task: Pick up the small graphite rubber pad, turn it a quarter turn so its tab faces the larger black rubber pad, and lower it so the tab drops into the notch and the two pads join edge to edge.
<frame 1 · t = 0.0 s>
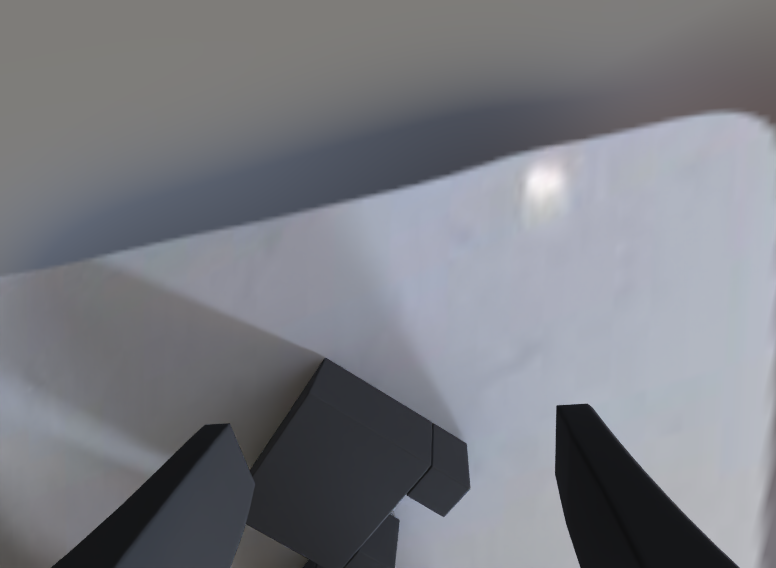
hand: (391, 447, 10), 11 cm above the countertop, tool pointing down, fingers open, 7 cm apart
black pad: (354, 456, 24), on the countertop
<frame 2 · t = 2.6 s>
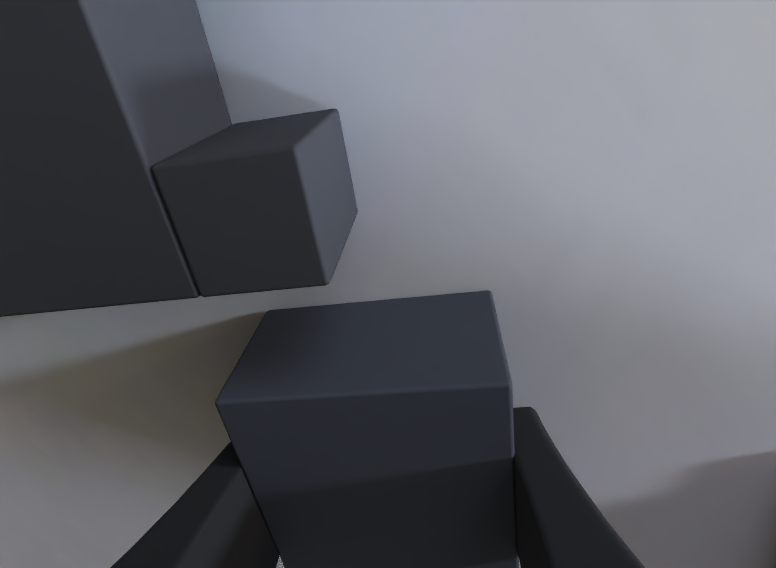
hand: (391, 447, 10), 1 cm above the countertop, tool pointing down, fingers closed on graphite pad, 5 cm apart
black pad: (87, 19, 8), on the countertop
graphite pad: (394, 403, 12), on the countertop, touching gripper
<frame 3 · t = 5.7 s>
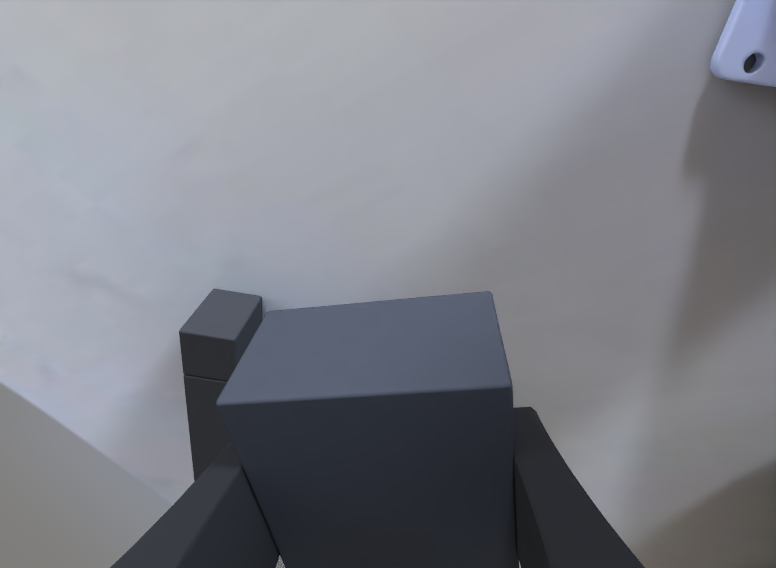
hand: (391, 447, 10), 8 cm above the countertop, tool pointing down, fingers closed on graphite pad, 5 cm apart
black pad: (307, 379, 21), on the countertop
graphite pad: (395, 403, 12), point 7 cm above the countertop, touching gripper
when the fingers open (1 cm above the countertop, at t = 9.1 s): graphite pad stays where it is, on the countertop.
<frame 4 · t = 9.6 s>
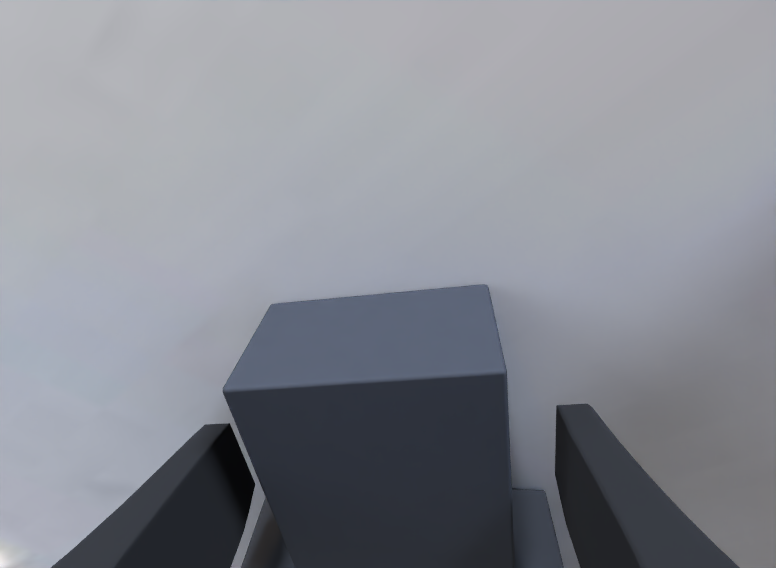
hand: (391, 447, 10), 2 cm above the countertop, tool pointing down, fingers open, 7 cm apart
black pad: (409, 566, 16), on the countertop
graphite pad: (394, 394, 12), on the countertop
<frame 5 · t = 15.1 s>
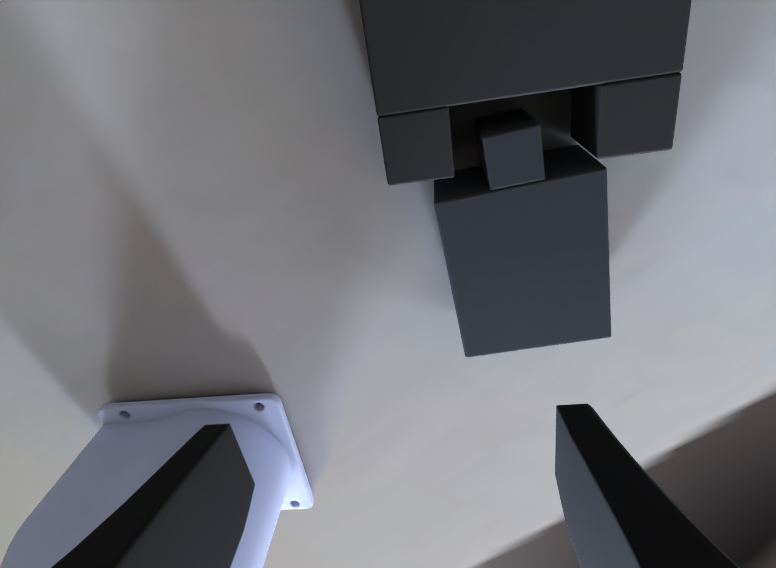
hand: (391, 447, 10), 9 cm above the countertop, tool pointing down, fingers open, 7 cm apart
black pad: (505, 13, 14), on the countertop
graphite pad: (513, 237, 18), on the countertop
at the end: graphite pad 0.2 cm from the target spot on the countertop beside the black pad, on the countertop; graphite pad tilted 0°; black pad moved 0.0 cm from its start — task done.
